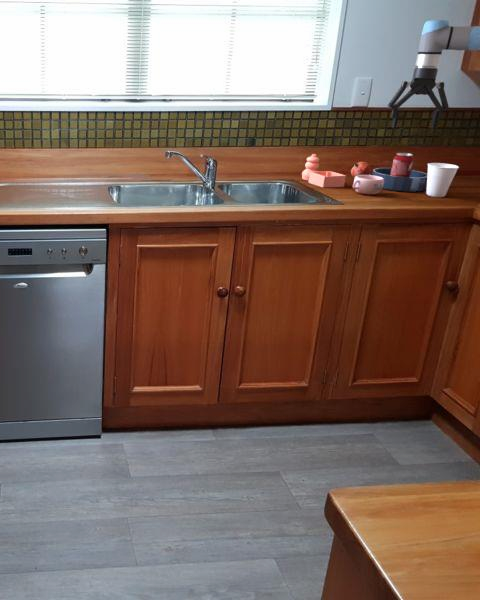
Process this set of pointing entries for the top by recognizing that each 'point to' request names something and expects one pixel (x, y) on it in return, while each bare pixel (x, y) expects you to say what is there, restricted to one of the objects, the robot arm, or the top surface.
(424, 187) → the bowl
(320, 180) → the pottery
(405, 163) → the soda can
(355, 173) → the pomegranate
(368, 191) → the mug
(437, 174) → the cup
